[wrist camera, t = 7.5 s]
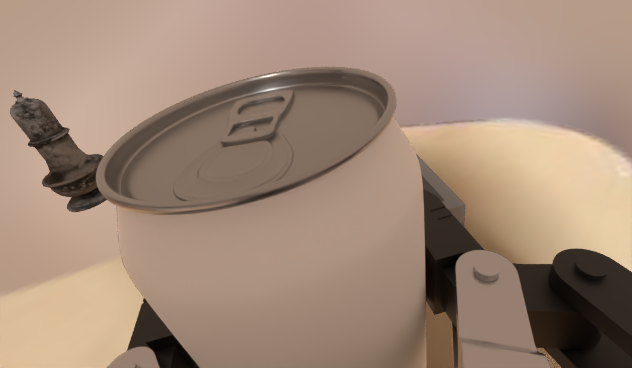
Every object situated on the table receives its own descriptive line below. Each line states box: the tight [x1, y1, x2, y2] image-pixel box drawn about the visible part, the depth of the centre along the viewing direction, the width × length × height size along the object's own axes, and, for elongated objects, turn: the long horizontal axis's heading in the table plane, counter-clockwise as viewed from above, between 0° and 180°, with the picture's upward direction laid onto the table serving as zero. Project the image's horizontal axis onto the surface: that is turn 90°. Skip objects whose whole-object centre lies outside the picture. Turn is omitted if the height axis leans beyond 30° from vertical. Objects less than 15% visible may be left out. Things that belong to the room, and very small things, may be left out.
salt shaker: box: [10, 91, 107, 212], centre depth 32 cm, size 6×6×12 cm
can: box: [96, 67, 427, 368], centre depth 10 cm, size 6×6×12 cm
